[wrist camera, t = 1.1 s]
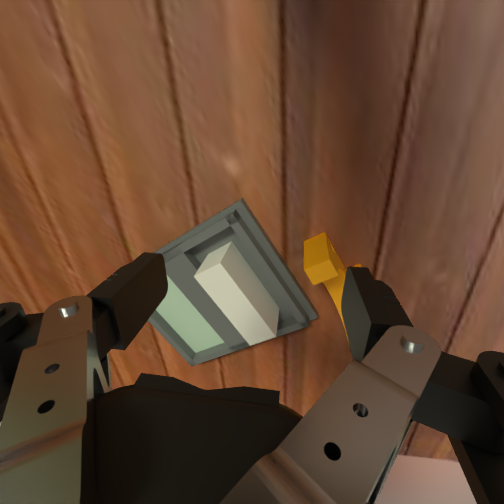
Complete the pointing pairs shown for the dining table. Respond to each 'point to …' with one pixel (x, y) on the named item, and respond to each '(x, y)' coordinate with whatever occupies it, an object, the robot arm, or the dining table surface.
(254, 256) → the dock
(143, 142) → the dining table surface
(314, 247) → the orange stepped block
